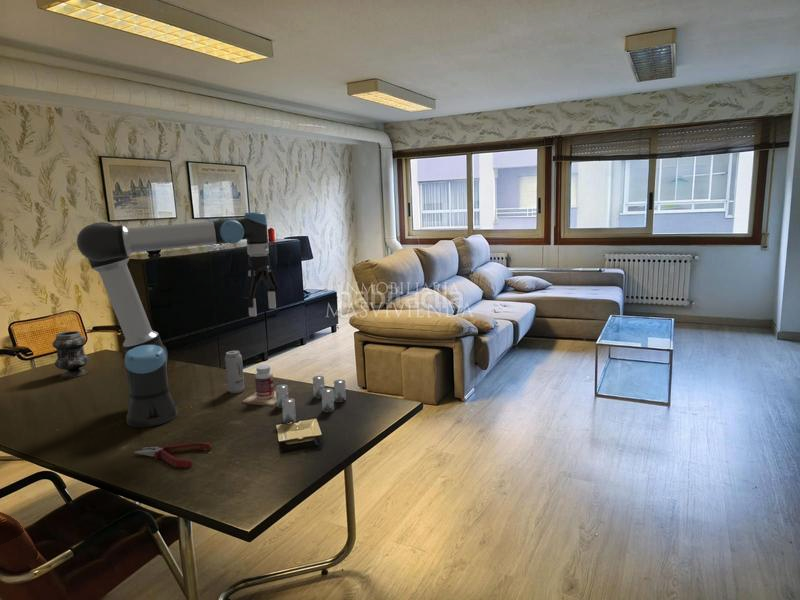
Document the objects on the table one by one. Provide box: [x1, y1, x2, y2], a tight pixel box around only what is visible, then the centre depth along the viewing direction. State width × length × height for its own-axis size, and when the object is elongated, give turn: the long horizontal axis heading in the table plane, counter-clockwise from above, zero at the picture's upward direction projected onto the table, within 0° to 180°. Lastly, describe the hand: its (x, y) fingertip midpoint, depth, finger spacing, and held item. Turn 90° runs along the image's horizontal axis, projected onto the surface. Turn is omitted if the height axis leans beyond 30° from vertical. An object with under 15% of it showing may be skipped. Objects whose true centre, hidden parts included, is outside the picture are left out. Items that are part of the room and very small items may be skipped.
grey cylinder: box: [333, 379, 347, 402], centre depth 181 cm, size 4×4×7 cm
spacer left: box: [275, 384, 289, 409], centre depth 177 cm, size 4×4×7 cm
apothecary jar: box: [51, 330, 90, 379], centre depth 216 cm, size 12×12×18 cm
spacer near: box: [281, 397, 297, 424], centre depth 165 cm, size 4×4×7 cm
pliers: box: [134, 441, 212, 469], centre depth 145 cm, size 12×20×3 cm, turn 78°
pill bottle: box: [254, 364, 275, 399], centre depth 184 cm, size 6×6×11 cm
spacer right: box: [321, 387, 335, 411], centre depth 172 cm, size 4×4×7 cm
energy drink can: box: [224, 350, 245, 394], centre depth 192 cm, size 6×6×15 cm
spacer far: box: [312, 375, 326, 398], centre depth 185 cm, size 4×4×7 cm
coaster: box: [241, 390, 290, 407], centre depth 185 cm, size 12×12×1 cm
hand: (263, 312), depth 193 cm, fingers open, 13 cm apart
